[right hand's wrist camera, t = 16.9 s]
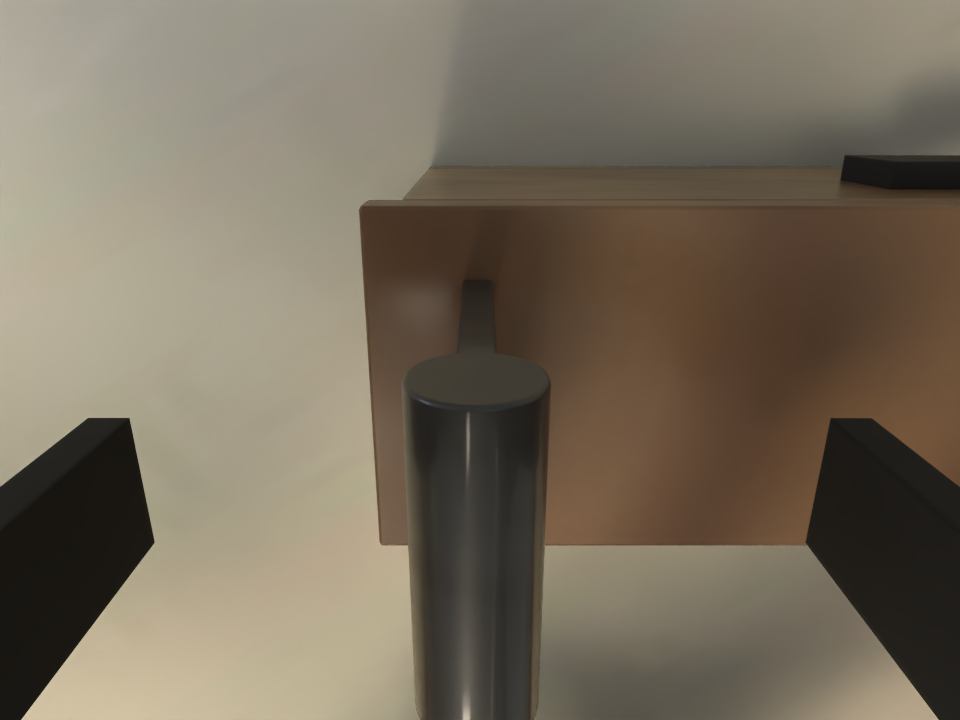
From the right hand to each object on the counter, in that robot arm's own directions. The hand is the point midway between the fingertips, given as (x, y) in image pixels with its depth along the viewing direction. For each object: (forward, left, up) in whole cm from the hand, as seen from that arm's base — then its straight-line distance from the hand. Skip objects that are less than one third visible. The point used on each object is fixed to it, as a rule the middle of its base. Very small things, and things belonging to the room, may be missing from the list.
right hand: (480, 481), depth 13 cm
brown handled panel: (+2, -6, -5) cm, 8 cm away
